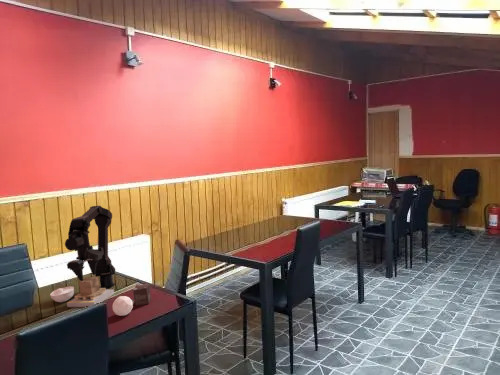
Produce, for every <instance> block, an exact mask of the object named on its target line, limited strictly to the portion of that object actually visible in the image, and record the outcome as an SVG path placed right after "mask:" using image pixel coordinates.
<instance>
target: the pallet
mask: <svg viewBox="0 0 500 375" xmlns="http://www.w3.org/2000/svg"><path fill="white" fill-rule="evenodd" d="M106 289H107V288H100V290H98V291H96V292H95V293H93V294H81V293H80V292H79V293H78V294H76V295H75V294H74V295H73V297H74V298H75V299H76V300H79V299H81V298H82V297H83V300H86V299H88V298H89V297H91V300H94V299H95V298H97V297H98V296H100V295H101V294H103V293H104V292H106V291H105V290H106Z"/></svg>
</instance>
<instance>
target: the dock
mask: <svg viewBox="0 0 500 375" xmlns="http://www.w3.org/2000/svg"><path fill="white" fill-rule="evenodd" d="M105 291H106V292H104V293H103V294H101V295H100V296H98V297H97V298H95V299H94V300H91V297H89V298H88V299H86V300H83V297H82V298H81V299H79V300H76V299H75V297H74V298H72V299H71V300H68V301H66V306H67V308H85V307H86V306H90V305H93V304H96V303H99V304H101V303H103V301H105V300H106V299H108V298H109V297H111V296H113V295H114V294H115V289H111V288H106V290H105ZM100 302H101V303H100ZM86 308H87V307H86Z"/></svg>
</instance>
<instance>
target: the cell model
mask: <svg viewBox="0 0 500 375" xmlns="http://www.w3.org/2000/svg"><path fill="white" fill-rule="evenodd" d="M49 296H50V297H51V299H52V300H53V301H55V302H56V303H64V302H68V301H70V299H71V298H72V297H74V296H75V287H74V286H71V285H70V286H66V287H61V288H60V287H59V288H56V289H54V290H53V291H52V292H51V293H50V294H49Z"/></svg>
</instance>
